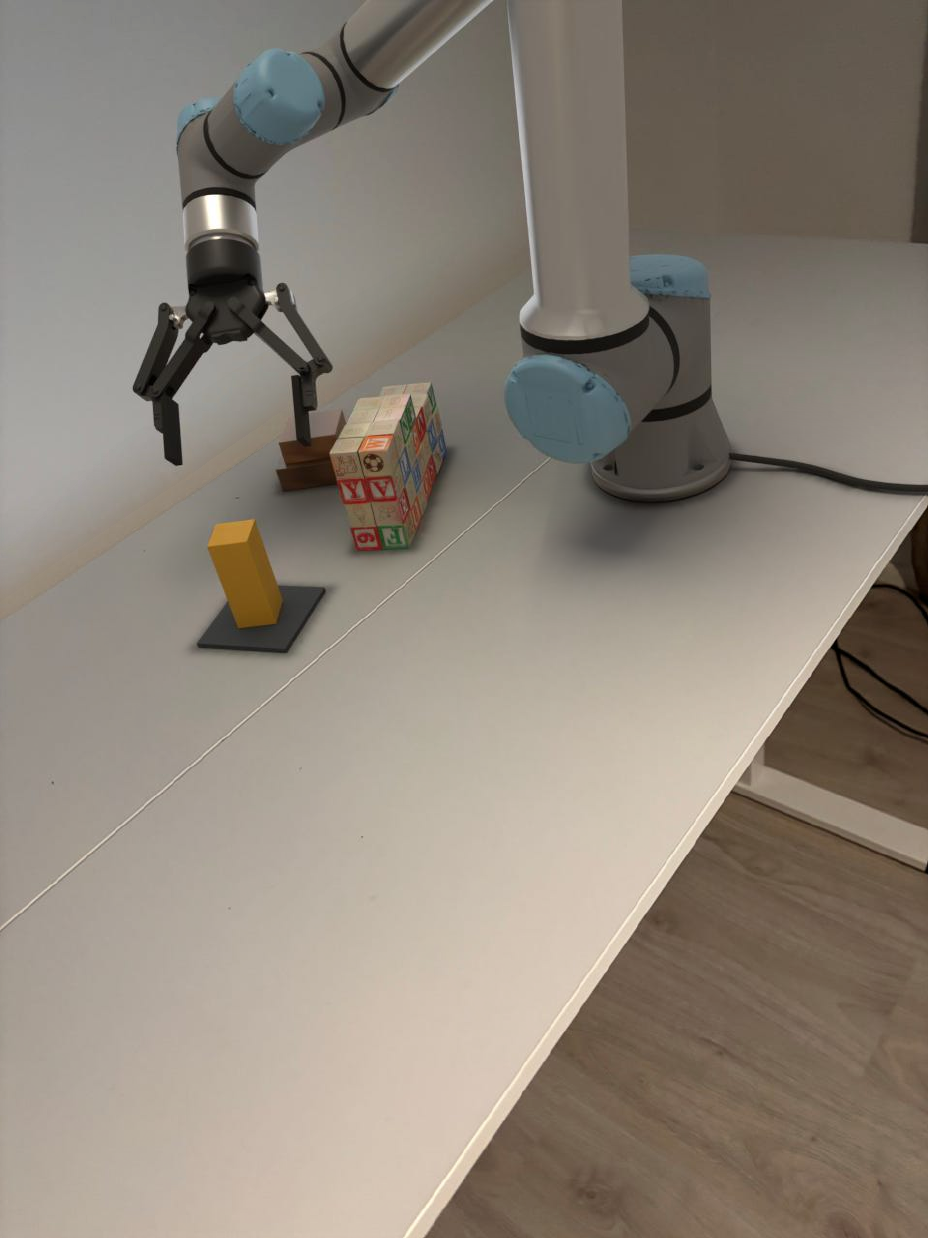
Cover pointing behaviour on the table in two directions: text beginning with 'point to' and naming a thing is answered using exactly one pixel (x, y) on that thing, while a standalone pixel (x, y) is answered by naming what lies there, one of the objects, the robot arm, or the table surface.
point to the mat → (265, 637)
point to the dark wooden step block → (309, 451)
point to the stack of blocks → (389, 464)
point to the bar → (245, 573)
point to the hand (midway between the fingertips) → (238, 452)
